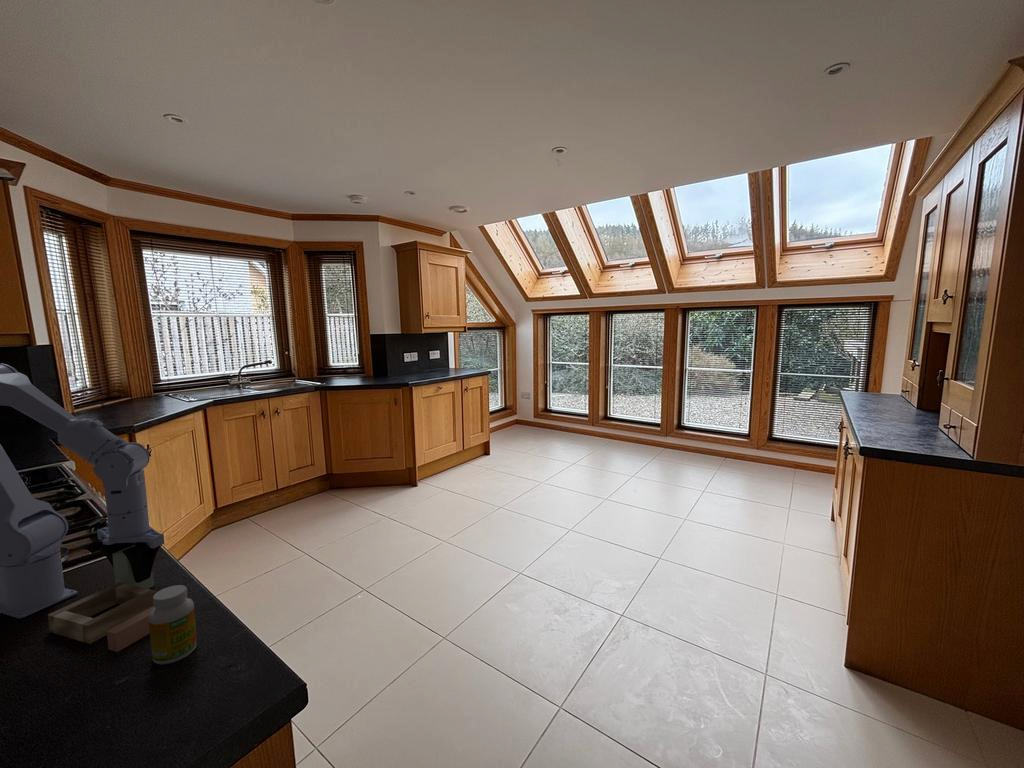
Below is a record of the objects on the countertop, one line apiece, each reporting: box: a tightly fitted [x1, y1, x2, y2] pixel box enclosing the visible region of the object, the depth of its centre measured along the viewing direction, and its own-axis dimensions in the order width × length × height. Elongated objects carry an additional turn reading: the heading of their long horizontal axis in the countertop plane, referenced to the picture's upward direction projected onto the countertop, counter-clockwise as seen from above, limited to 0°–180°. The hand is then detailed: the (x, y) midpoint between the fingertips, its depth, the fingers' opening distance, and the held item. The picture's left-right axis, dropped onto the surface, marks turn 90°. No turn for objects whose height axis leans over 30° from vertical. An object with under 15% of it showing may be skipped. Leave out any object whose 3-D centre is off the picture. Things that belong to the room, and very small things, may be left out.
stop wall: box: [106, 606, 155, 653], centre depth 71 cm, size 2×10×3 cm, turn 163°
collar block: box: [47, 582, 158, 645], centre depth 74 cm, size 10×10×3 cm
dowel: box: [112, 545, 155, 589], centre depth 82 cm, size 4×4×8 cm
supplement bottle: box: [149, 584, 198, 665], centre depth 65 cm, size 5×5×10 cm
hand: (134, 578), depth 82 cm, fingers closed on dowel, 4 cm apart
